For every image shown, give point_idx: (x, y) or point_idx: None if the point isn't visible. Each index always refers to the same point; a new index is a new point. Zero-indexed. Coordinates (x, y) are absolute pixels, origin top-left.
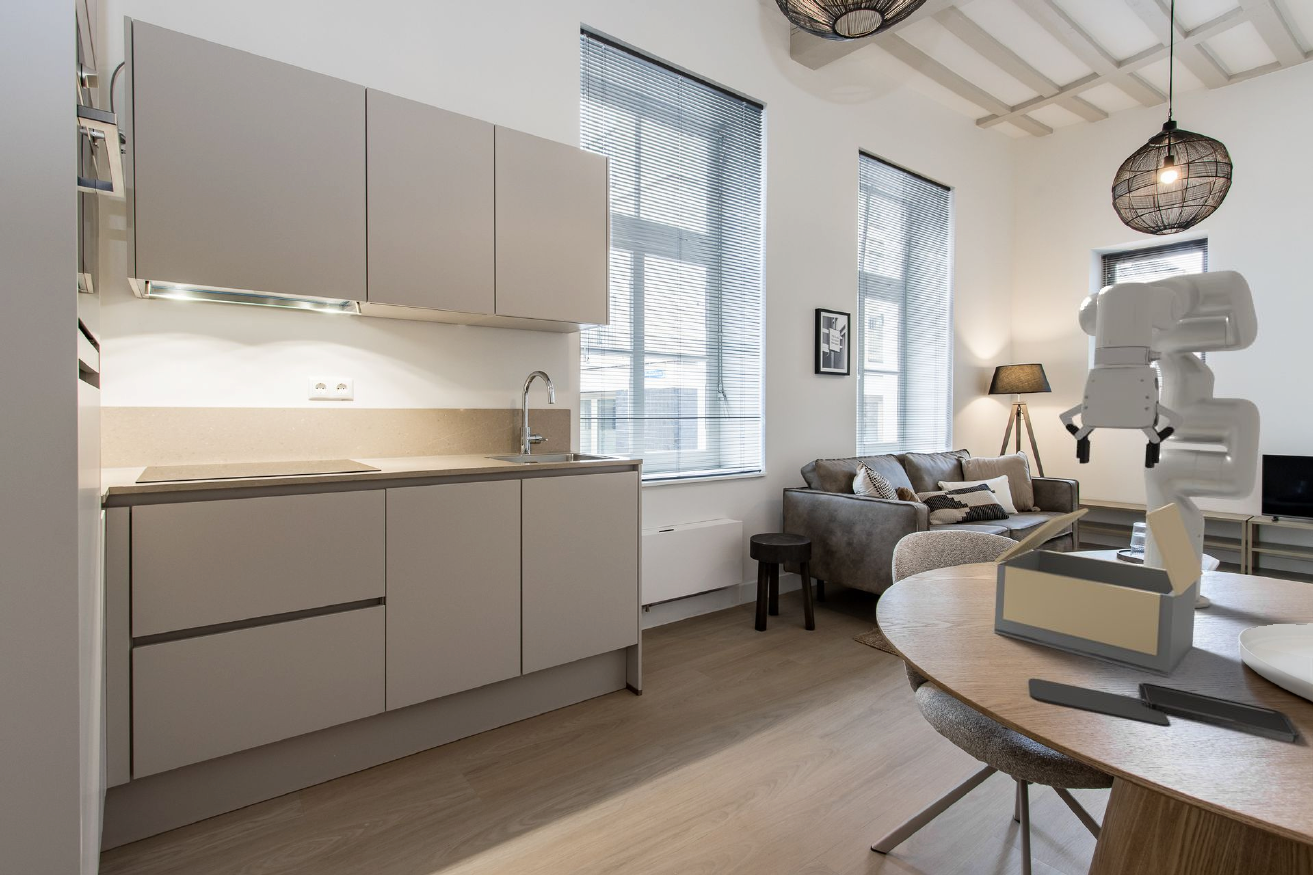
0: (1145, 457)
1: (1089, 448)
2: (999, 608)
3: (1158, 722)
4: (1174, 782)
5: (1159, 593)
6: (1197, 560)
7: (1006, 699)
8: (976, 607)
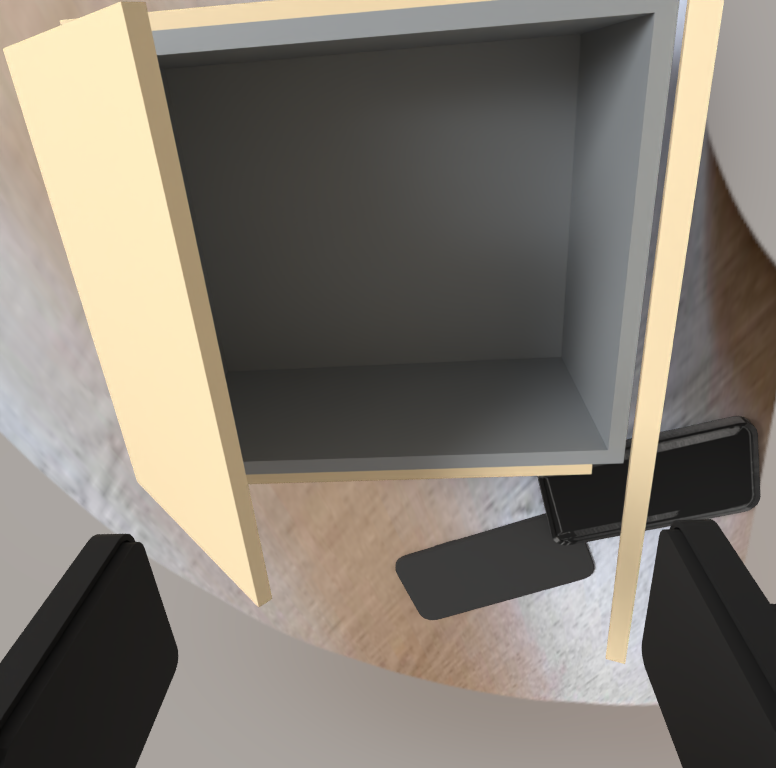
0: (673, 742)
1: (66, 672)
2: None
3: (581, 576)
4: (612, 695)
5: (588, 455)
6: None
7: (402, 641)
8: None
